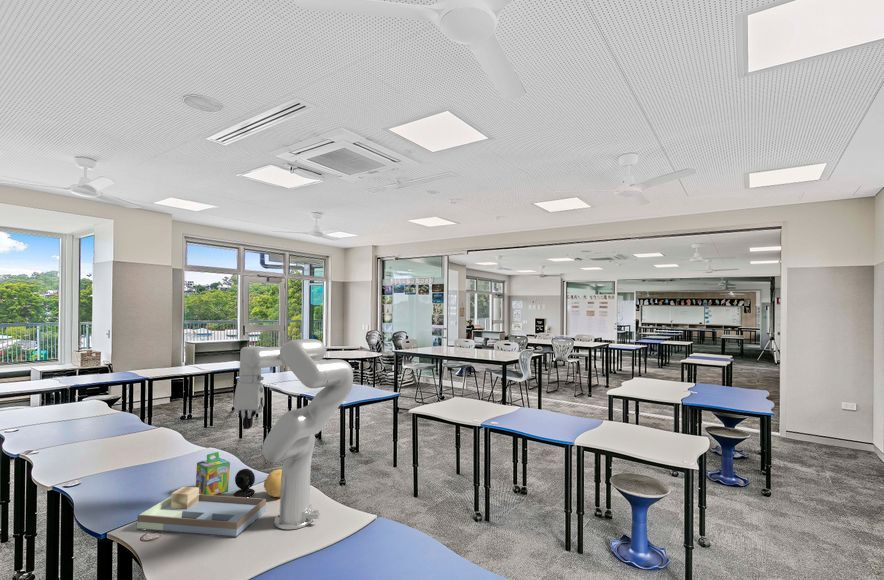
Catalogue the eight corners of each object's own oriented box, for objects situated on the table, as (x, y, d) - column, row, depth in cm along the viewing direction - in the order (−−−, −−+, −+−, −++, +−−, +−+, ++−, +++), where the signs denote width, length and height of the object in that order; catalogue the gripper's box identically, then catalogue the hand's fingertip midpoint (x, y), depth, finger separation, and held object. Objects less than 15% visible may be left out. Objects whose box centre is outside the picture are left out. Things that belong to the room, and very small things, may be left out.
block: (198, 501, 154) (199, 487, 155) (186, 509, 148) (187, 494, 149) (182, 500, 155) (183, 486, 155) (170, 508, 149) (171, 493, 149)
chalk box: (205, 499, 163) (207, 459, 164) (194, 492, 168) (196, 453, 169) (229, 491, 170) (231, 453, 171) (218, 485, 176) (220, 448, 176)
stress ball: (275, 492, 172) (256, 480, 167) (293, 472, 175) (275, 459, 170) (280, 506, 163) (260, 494, 159) (299, 484, 166) (280, 472, 162)
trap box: (265, 511, 153) (265, 498, 154) (236, 537, 135) (237, 522, 136) (176, 505, 157) (177, 492, 157) (136, 529, 139) (137, 515, 139)
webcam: (228, 498, 164) (230, 471, 164) (240, 490, 171) (241, 464, 172) (248, 500, 163) (249, 473, 163) (258, 492, 170) (260, 466, 171)
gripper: (273, 378, 167) (271, 426, 166) (236, 377, 168) (234, 424, 167) (263, 381, 160) (261, 431, 158) (225, 380, 161) (222, 429, 160)
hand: (247, 428), depth 163 cm, fingers closed
